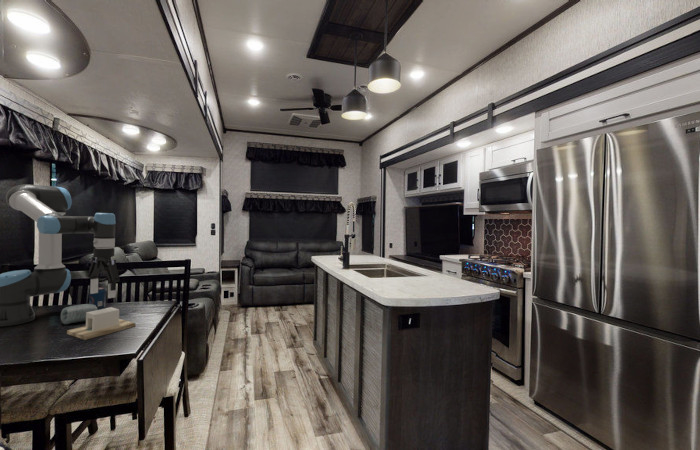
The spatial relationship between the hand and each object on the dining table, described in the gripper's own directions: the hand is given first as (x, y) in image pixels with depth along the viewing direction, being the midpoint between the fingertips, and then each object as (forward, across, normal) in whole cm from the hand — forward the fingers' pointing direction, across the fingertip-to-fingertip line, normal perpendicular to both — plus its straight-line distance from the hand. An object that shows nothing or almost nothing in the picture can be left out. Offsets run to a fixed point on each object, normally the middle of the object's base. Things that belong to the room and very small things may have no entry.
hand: (102, 295), depth 146 cm
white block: (+14, +1, 0) cm, 14 cm away
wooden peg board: (+15, +1, 0) cm, 15 cm away
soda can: (+16, -33, +15) cm, 40 cm away
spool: (+16, -20, +1) cm, 26 cm away
